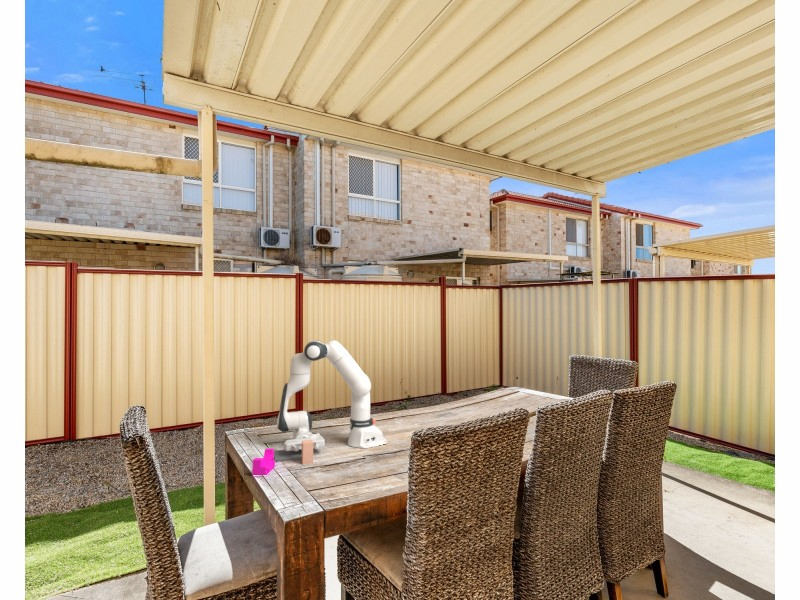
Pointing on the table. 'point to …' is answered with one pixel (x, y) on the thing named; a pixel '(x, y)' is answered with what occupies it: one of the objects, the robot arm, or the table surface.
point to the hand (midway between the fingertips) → (306, 448)
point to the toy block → (264, 463)
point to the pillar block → (307, 452)
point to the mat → (287, 455)
